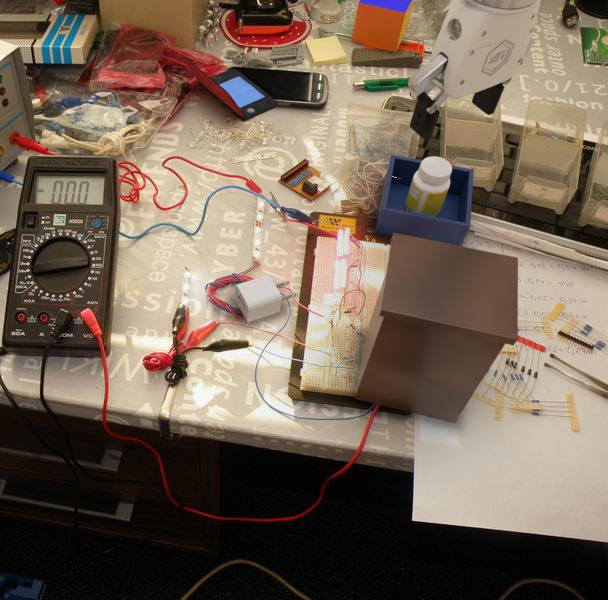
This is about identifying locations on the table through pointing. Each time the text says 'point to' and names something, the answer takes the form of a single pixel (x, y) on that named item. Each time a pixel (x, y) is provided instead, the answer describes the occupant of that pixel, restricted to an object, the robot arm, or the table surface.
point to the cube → (382, 23)
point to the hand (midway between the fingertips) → (451, 120)
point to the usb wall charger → (260, 297)
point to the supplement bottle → (429, 187)
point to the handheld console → (235, 92)
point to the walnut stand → (437, 326)
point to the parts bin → (441, 229)
